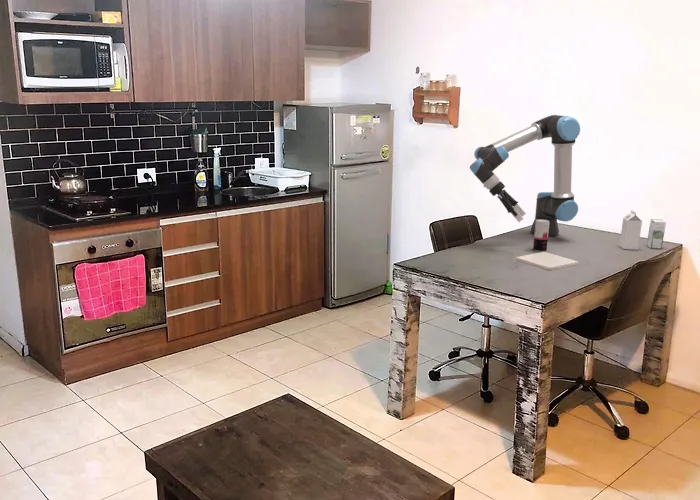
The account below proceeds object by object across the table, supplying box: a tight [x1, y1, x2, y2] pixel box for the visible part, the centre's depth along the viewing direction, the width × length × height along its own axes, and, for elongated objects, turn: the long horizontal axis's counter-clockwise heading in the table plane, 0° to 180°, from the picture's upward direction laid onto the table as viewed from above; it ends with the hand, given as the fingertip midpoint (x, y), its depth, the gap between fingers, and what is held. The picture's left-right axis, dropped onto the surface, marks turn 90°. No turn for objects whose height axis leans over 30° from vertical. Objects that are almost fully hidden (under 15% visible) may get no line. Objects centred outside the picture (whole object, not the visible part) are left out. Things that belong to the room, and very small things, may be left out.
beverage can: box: [532, 219, 549, 253], centre depth 319 cm, size 7×6×15 cm
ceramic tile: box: [515, 251, 579, 271], centre depth 301 cm, size 20×20×1 cm
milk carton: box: [619, 209, 643, 251], centre depth 326 cm, size 7×7×19 cm
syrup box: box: [646, 218, 667, 250], centre depth 329 cm, size 6×6×14 cm
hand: (522, 217), depth 320 cm, fingers open, 13 cm apart
